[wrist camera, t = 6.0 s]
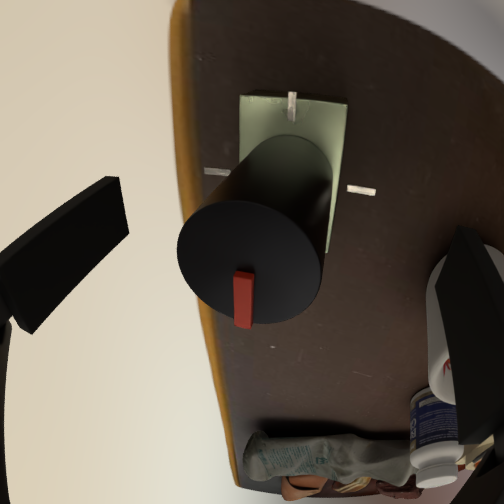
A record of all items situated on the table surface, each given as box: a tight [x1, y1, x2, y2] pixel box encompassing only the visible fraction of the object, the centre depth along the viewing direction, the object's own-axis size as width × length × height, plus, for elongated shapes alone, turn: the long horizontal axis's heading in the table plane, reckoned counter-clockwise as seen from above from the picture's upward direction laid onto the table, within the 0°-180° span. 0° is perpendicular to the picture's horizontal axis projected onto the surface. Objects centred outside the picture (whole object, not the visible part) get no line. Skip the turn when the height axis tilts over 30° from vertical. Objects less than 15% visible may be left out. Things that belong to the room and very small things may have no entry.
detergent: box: [243, 431, 419, 487], centre depth 32 cm, size 13×7×25 cm
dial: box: [177, 135, 333, 329], centre depth 12 cm, size 4×4×8 cm
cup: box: [426, 244, 504, 405], centre depth 16 cm, size 11×8×8 cm
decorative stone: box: [332, 477, 371, 493], centre depth 43 cm, size 14×6×2 cm, turn 175°
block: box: [455, 434, 494, 470], centre depth 28 cm, size 6×10×4 cm, turn 179°
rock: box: [376, 474, 424, 499], centre depth 38 cm, size 11×6×8 cm
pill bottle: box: [410, 387, 464, 488], centre depth 22 cm, size 5×5×10 cm
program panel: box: [205, 90, 376, 253], centre depth 16 cm, size 9×9×3 cm
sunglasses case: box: [281, 475, 328, 501], centre depth 46 cm, size 18×7×7 cm
